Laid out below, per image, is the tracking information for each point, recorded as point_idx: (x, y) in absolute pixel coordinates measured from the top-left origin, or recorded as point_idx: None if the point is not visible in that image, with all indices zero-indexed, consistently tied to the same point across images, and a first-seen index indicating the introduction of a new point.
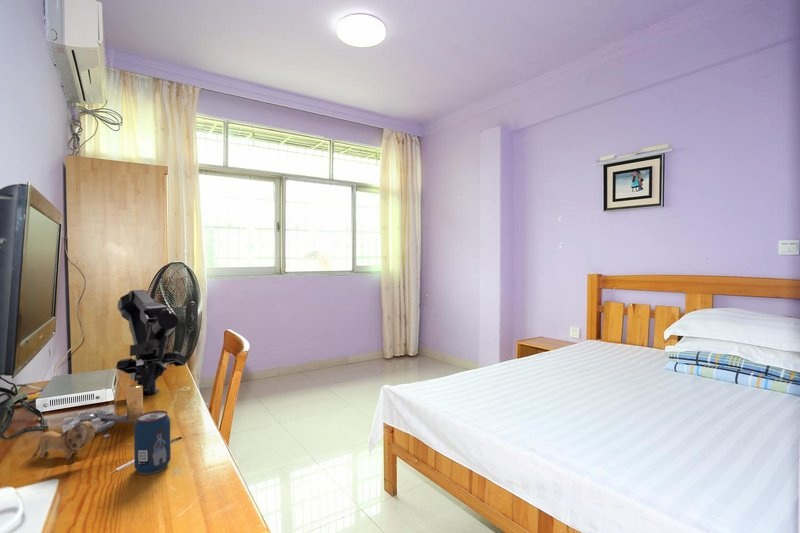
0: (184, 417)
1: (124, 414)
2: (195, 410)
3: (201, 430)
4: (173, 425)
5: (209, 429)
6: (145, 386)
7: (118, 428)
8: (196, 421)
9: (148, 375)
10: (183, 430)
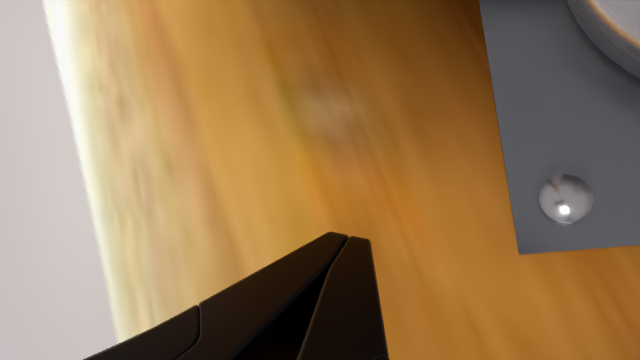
0: (176, 194)
1: (590, 200)
2: (142, 309)
3: (82, 15)
4: (203, 78)
5: (57, 25)
6: (328, 246)
7: None
8: (113, 124)
9: (206, 339)
10: (146, 14)
